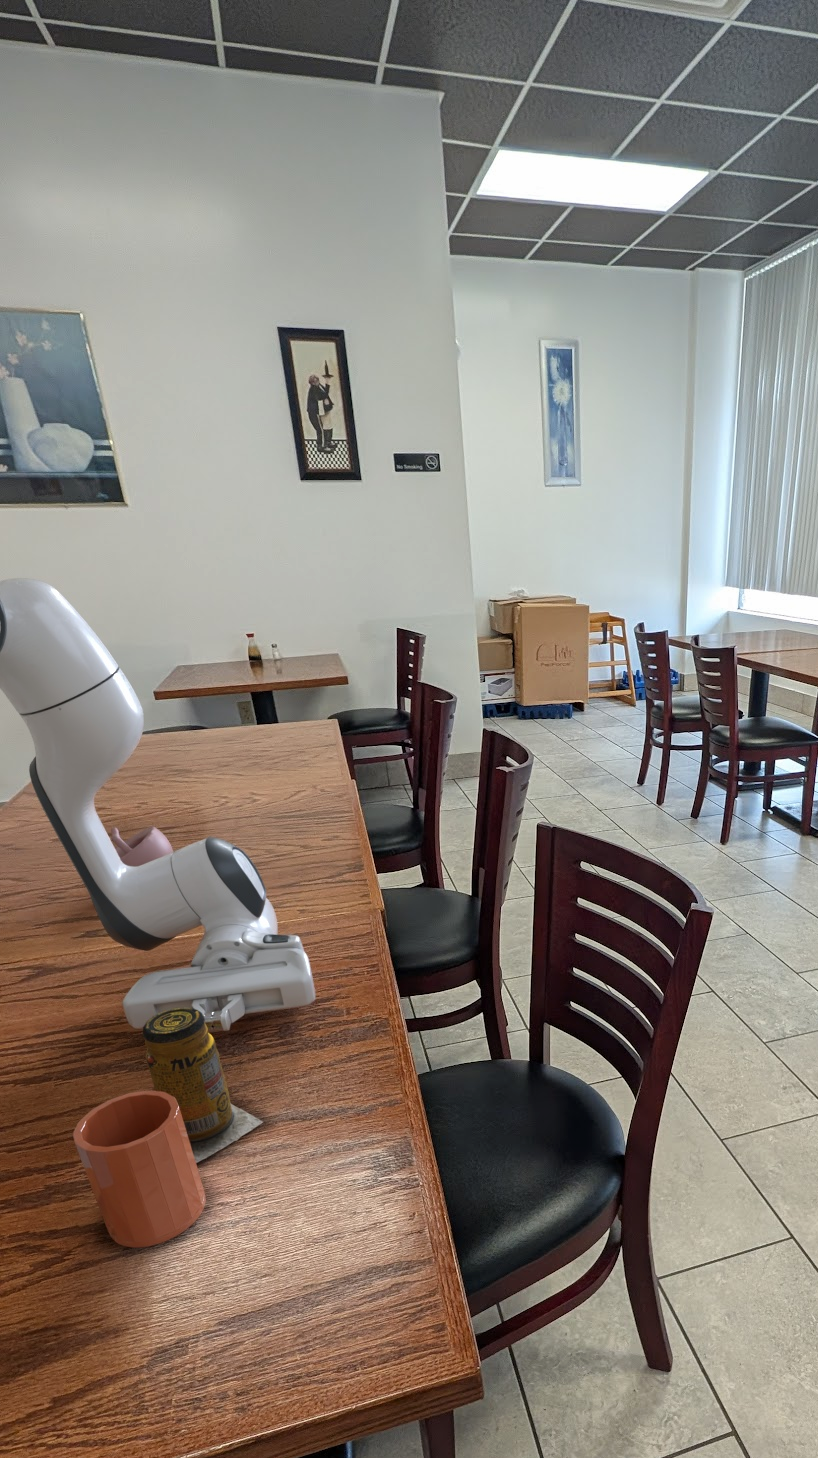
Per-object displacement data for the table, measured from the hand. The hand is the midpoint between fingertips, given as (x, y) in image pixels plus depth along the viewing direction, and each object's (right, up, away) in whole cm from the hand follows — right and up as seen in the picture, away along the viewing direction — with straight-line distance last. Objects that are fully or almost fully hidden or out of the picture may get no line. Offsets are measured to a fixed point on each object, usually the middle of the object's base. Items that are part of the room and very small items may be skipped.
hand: (212, 1026), depth 87 cm
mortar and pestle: (-33, +17, +49) cm, 61 cm away
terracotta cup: (+3, -14, -17) cm, 22 cm away
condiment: (+2, -9, -7) cm, 12 cm away
